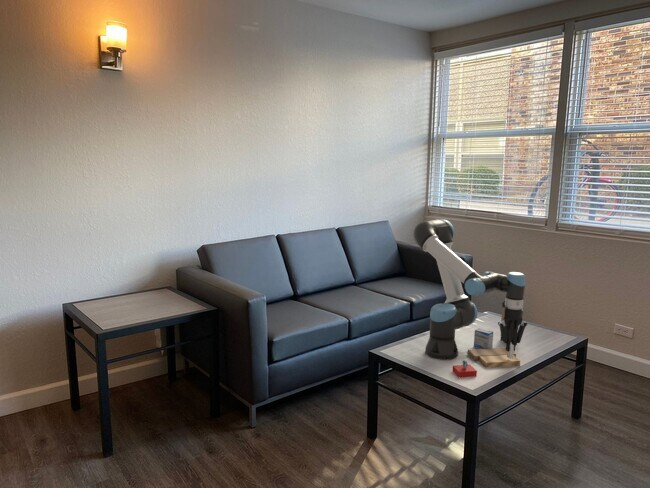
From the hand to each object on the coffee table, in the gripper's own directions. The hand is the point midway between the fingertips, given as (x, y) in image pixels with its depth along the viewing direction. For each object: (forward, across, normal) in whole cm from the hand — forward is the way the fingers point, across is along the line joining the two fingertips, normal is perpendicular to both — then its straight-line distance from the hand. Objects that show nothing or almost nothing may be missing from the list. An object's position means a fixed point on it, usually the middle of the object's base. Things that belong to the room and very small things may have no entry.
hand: (509, 357), depth 229 cm
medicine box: (+4, -3, +22) cm, 22 cm away
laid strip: (+4, -4, +10) cm, 11 cm away
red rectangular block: (+4, -24, -6) cm, 25 cm away
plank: (+4, -4, +2) cm, 5 cm away
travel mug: (+4, +14, +30) cm, 33 cm away
